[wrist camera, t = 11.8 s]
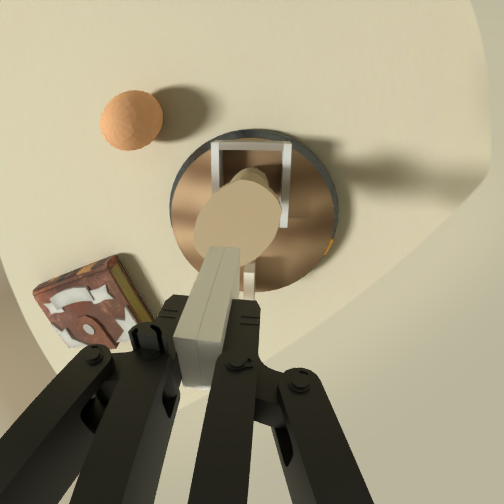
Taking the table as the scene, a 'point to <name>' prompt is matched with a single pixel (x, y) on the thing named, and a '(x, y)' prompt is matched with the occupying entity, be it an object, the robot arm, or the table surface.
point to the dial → (291, 199)
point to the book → (92, 304)
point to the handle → (240, 216)
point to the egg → (131, 120)
